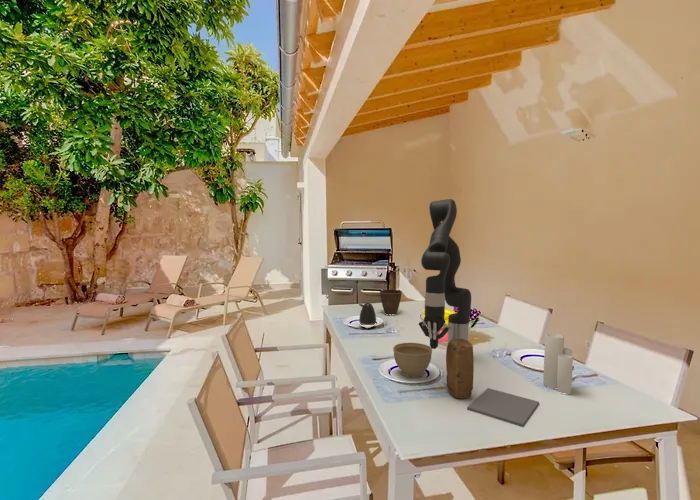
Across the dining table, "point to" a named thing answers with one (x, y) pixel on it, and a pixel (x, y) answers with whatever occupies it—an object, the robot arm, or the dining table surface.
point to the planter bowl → (412, 358)
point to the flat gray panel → (504, 406)
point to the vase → (557, 364)
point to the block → (460, 368)
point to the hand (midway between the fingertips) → (433, 348)
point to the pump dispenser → (367, 314)
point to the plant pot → (390, 300)
